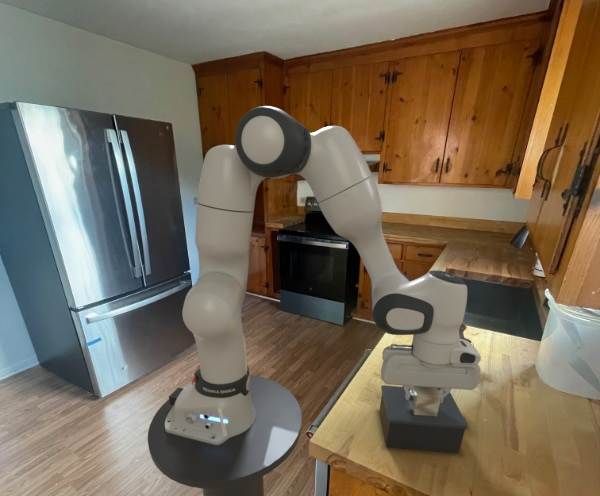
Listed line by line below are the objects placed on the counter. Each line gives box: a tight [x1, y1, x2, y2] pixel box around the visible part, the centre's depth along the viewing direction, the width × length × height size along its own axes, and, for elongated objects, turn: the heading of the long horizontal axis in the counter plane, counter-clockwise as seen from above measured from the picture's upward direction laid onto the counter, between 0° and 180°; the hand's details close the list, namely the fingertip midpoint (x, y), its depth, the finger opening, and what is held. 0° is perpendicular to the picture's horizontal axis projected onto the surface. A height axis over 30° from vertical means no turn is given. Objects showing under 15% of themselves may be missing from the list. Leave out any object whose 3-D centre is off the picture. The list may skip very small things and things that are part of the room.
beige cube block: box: [410, 386, 441, 416], centre depth 75 cm, size 5×6×6 cm
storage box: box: [379, 384, 469, 454], centre depth 78 cm, size 17×13×8 cm
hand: (423, 400), depth 75 cm, fingers closed on beige cube block, 5 cm apart
